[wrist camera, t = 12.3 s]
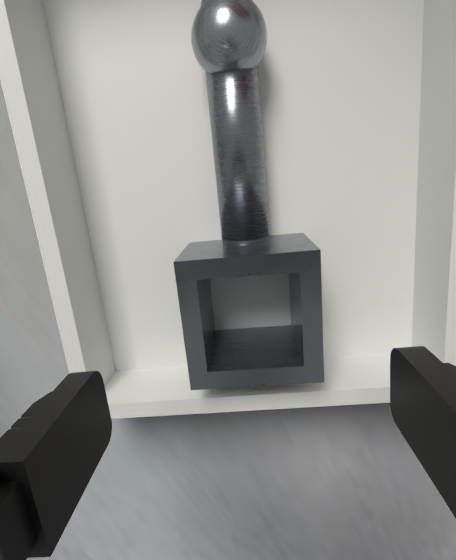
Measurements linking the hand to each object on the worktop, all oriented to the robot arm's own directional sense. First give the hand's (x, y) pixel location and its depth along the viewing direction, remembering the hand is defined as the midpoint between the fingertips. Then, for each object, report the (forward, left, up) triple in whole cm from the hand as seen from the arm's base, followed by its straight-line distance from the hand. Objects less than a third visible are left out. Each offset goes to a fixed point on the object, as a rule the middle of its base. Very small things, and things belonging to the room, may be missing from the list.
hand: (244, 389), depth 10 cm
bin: (+5, -3, -10) cm, 12 cm away
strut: (+4, -3, -9) cm, 10 cm away
